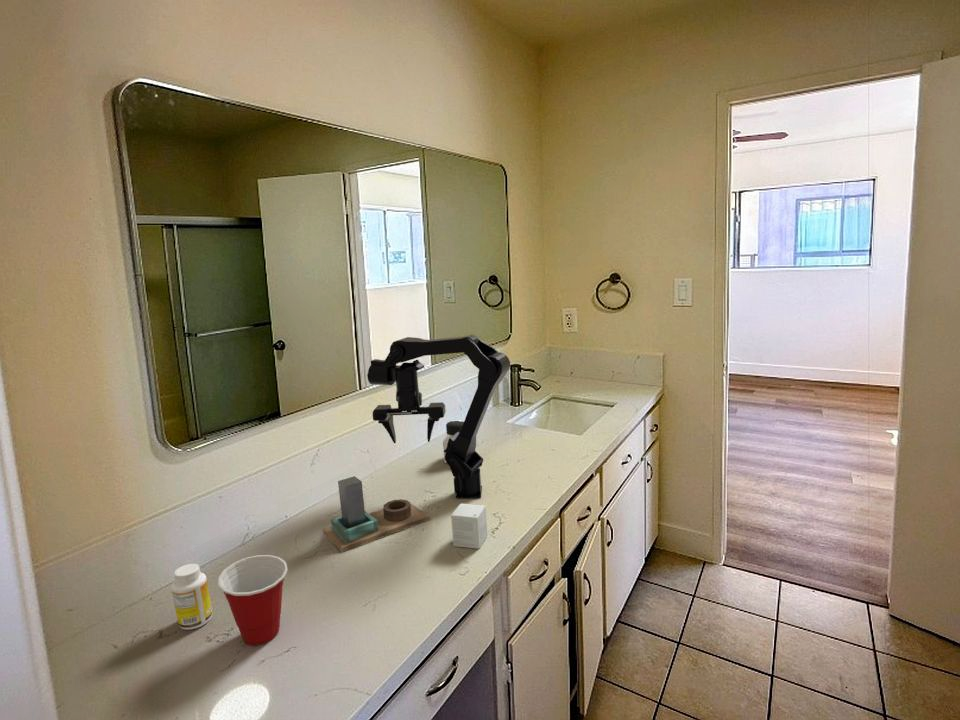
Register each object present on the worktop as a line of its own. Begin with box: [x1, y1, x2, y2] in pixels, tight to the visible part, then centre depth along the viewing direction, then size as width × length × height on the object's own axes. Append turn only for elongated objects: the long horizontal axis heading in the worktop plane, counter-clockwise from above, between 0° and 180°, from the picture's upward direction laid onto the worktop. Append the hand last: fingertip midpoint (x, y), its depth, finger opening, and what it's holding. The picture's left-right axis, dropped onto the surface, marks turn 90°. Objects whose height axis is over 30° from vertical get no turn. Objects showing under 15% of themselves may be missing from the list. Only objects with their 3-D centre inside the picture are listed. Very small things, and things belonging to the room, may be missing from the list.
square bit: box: [337, 475, 366, 529], centre depth 127 cm, size 4×4×12 cm
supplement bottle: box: [171, 563, 213, 631], centre depth 99 cm, size 6×6×10 cm
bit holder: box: [323, 498, 430, 553], centre depth 131 cm, size 22×11×4 cm, turn 126°
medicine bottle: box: [442, 419, 465, 464], centre depth 170 cm, size 7×7×12 cm
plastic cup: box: [217, 554, 288, 647], centre depth 94 cm, size 11×11×12 cm
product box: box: [450, 503, 488, 550], centre depth 121 cm, size 6×6×7 cm
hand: (411, 442), depth 149 cm, fingers open, 9 cm apart
